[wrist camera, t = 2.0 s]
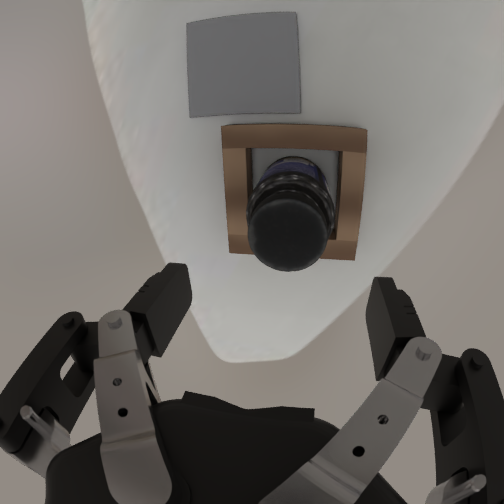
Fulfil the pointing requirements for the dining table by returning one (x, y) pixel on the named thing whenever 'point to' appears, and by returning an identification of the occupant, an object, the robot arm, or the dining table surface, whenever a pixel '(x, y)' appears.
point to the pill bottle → (290, 215)
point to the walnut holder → (298, 137)
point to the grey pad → (243, 64)
